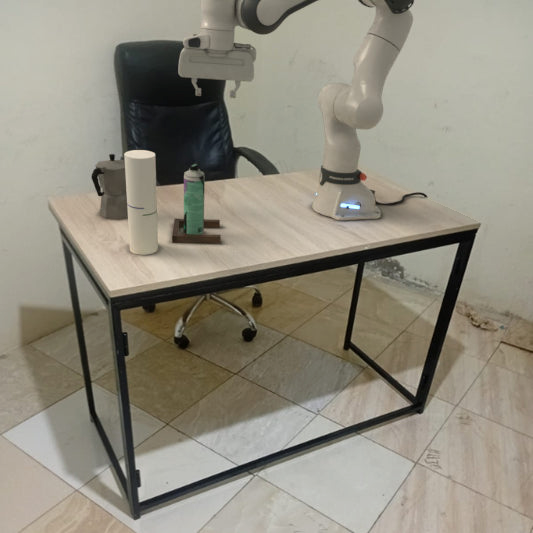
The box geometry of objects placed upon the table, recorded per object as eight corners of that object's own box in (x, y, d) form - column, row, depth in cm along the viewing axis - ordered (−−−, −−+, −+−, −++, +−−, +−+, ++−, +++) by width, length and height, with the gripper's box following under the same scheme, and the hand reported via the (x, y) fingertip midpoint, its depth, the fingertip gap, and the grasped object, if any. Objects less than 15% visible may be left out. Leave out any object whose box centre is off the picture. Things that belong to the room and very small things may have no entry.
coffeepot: (116, 203, 157) (112, 146, 148) (142, 209, 154) (139, 151, 145) (83, 220, 144) (76, 158, 135) (110, 227, 141) (105, 164, 133)
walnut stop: (219, 225, 148) (219, 219, 147) (220, 243, 137) (220, 237, 136) (174, 224, 146) (174, 218, 145) (172, 242, 136) (172, 235, 135)
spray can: (205, 231, 144) (206, 162, 134) (201, 239, 139) (202, 168, 129) (186, 229, 144) (186, 160, 135) (181, 236, 139) (181, 166, 130)
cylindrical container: (132, 242, 134) (126, 149, 122) (159, 243, 135) (156, 150, 123) (127, 254, 128) (122, 157, 116) (156, 255, 128) (153, 159, 117)
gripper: (255, 43, 136) (252, 96, 142) (178, 37, 133) (179, 92, 139) (257, 45, 130) (254, 101, 137) (177, 39, 127) (177, 96, 134)
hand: (215, 96), depth 138 cm, fingers open, 8 cm apart
